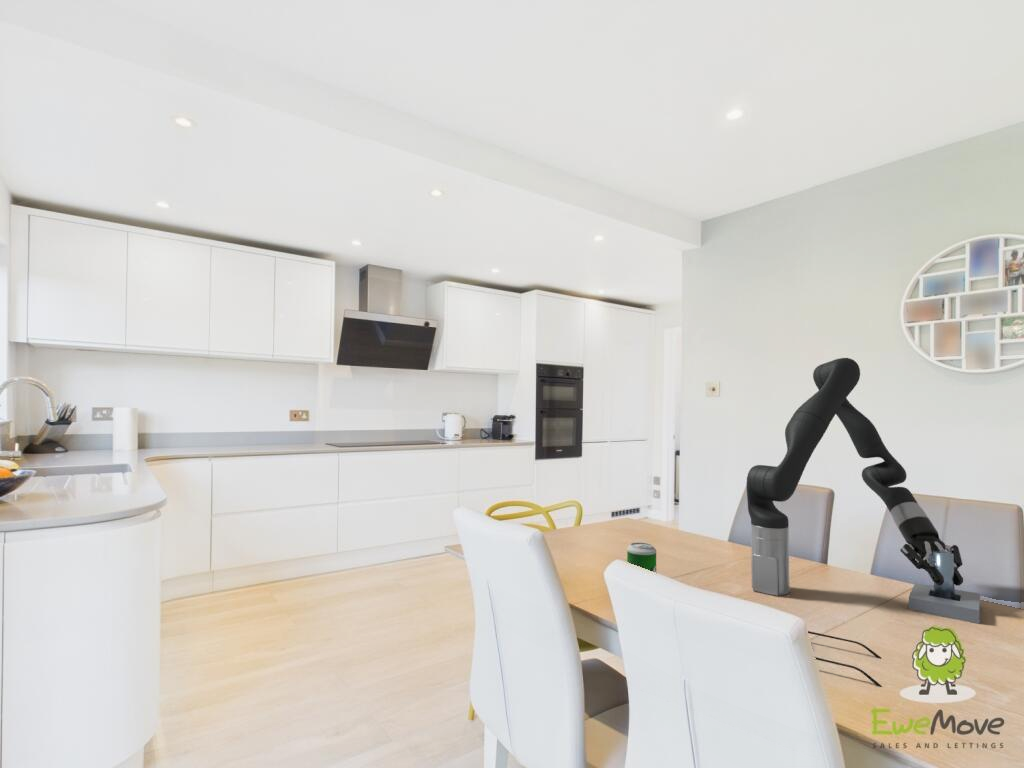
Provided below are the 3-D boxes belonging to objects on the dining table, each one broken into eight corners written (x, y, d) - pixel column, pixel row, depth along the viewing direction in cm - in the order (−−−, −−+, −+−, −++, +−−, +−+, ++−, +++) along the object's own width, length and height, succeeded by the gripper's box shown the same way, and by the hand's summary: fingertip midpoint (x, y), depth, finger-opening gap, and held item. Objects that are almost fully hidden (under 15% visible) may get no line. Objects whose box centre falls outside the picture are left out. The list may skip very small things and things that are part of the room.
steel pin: (954, 605, 130) (953, 555, 131) (933, 601, 133) (932, 552, 134) (955, 601, 133) (953, 552, 134) (934, 597, 136) (933, 549, 136)
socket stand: (979, 623, 123) (978, 610, 123) (909, 609, 131) (908, 597, 131) (980, 605, 135) (979, 593, 135) (915, 593, 143) (915, 582, 143)
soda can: (651, 597, 138) (651, 549, 138) (623, 591, 142) (623, 545, 142) (659, 589, 144) (659, 544, 145) (632, 584, 148) (632, 540, 149)
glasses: (787, 639, 114) (786, 615, 114) (881, 660, 104) (880, 633, 105) (776, 663, 102) (776, 636, 103) (881, 689, 93) (881, 660, 93)
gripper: (892, 514, 142) (928, 575, 129) (947, 515, 141) (989, 576, 129) (880, 530, 147) (913, 590, 134) (933, 531, 146) (971, 592, 134)
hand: (950, 583), depth 131 cm, fingers closed on steel pin, 4 cm apart
